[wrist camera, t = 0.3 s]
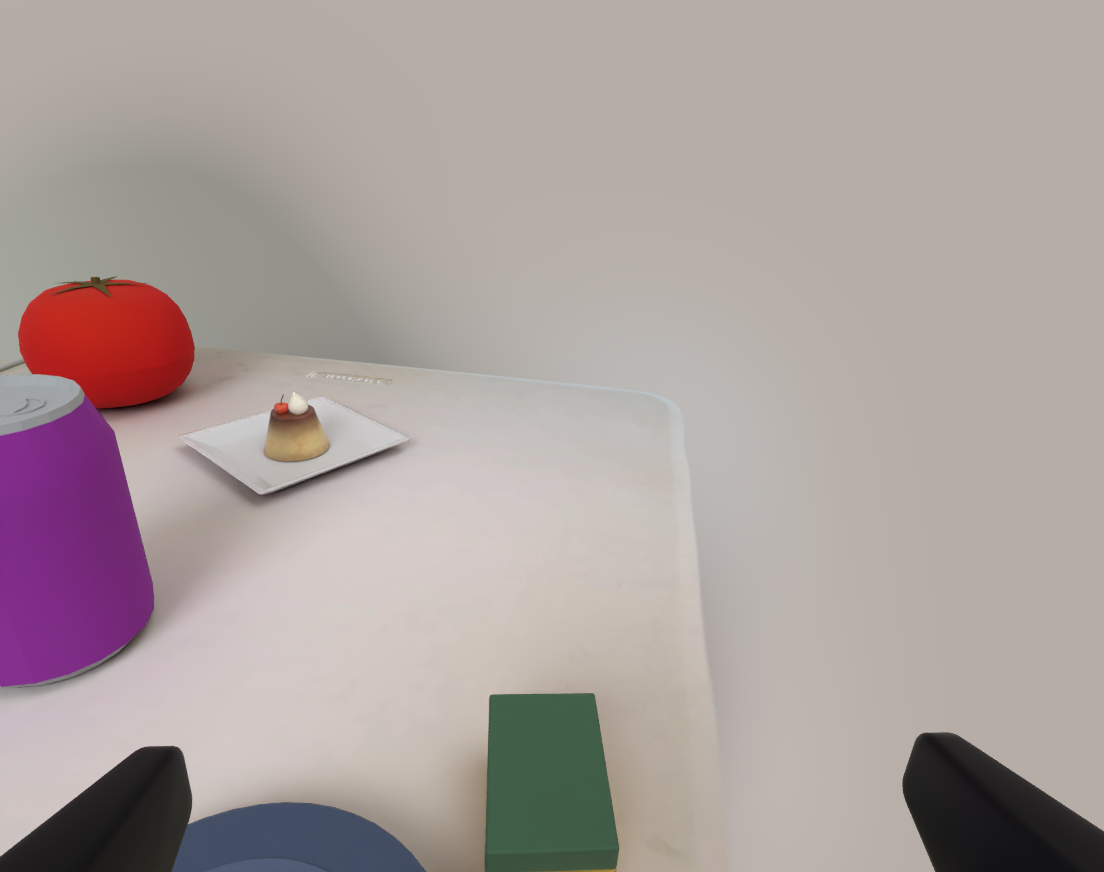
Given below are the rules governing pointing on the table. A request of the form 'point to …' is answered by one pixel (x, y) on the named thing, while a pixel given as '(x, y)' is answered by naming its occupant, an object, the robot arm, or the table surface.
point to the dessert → (292, 442)
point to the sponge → (547, 786)
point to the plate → (291, 842)
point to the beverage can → (64, 536)
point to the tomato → (108, 340)
